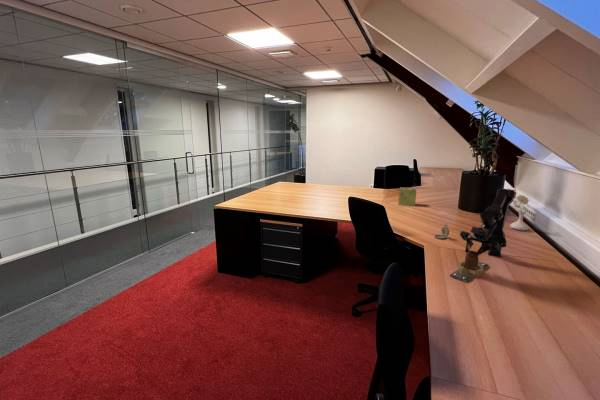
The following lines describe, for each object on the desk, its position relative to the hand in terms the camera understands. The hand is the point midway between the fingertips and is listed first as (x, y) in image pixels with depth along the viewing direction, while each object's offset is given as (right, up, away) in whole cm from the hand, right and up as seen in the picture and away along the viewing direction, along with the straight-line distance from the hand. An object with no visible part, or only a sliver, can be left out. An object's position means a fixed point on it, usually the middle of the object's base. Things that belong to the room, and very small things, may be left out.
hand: (470, 253), depth 152 cm
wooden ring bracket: (+1, -10, +3) cm, 10 cm away
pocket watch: (+9, +2, +51) cm, 51 cm away
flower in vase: (+73, +6, +67) cm, 99 cm away
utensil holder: (+1, -6, +2) cm, 7 cm away
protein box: (+18, +23, +140) cm, 143 cm away
